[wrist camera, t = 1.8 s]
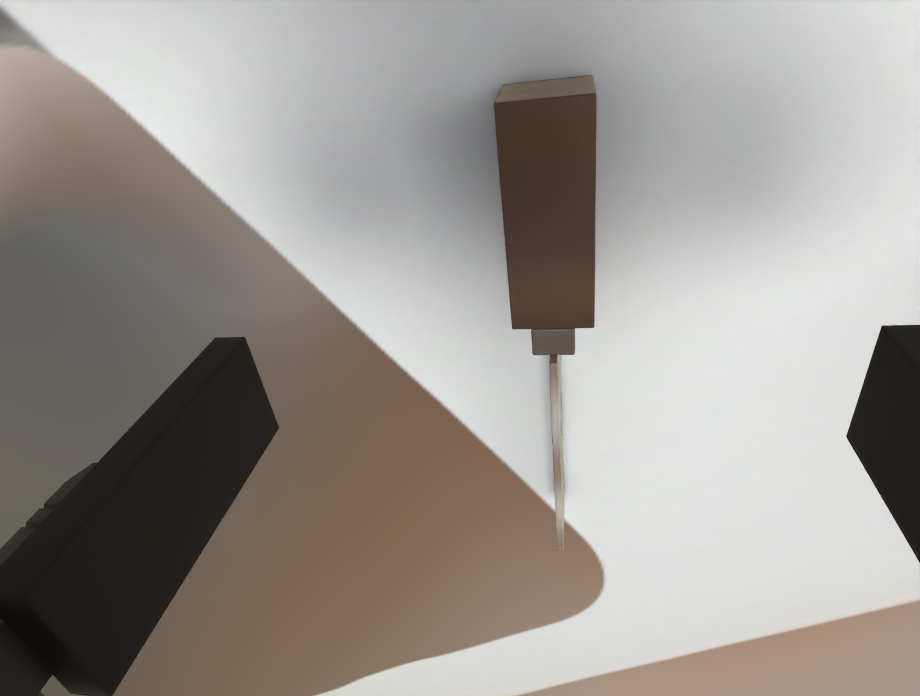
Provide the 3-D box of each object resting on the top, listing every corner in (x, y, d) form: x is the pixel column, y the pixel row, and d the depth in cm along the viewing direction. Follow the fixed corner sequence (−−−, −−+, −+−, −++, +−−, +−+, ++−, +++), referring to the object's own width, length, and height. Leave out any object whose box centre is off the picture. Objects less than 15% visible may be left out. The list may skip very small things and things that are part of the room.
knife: (502, 84, 20) (491, 106, 17) (593, 75, 19) (597, 96, 16) (532, 494, 31) (529, 549, 28) (590, 496, 30) (592, 552, 27)
